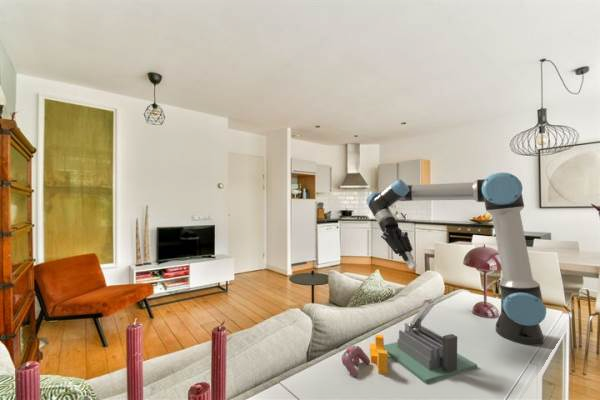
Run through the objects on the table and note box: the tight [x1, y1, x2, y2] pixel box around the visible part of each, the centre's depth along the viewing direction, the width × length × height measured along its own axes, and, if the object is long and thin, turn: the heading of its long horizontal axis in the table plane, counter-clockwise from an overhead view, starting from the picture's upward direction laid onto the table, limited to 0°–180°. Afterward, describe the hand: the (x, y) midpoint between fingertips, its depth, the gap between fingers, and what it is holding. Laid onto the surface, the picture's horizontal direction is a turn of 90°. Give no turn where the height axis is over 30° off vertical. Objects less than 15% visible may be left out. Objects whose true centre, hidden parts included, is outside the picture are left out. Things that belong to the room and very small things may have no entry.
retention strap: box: [409, 299, 436, 329], centre depth 97 cm, size 3×14×2 cm
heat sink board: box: [384, 322, 478, 384], centre depth 95 cm, size 22×20×11 cm
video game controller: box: [341, 345, 371, 378], centre depth 89 cm, size 10×5×7 cm, turn 141°
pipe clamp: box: [369, 334, 388, 375], centre depth 92 cm, size 12×4×6 cm, turn 170°
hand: (413, 267), depth 109 cm, fingers closed
